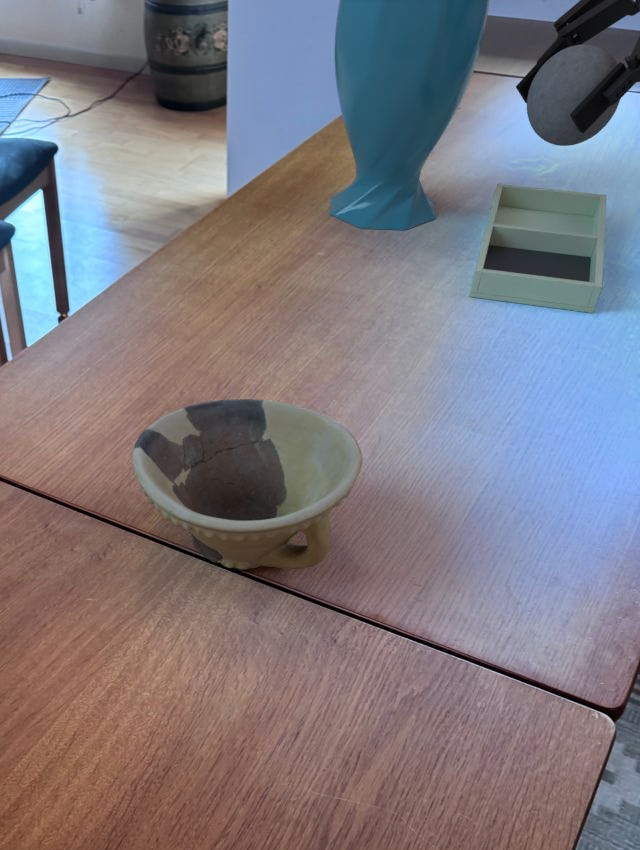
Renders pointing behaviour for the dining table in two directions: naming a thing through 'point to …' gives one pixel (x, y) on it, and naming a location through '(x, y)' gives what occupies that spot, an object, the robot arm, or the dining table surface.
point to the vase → (400, 98)
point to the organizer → (542, 248)
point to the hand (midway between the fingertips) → (548, 109)
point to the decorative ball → (568, 93)
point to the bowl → (249, 478)
